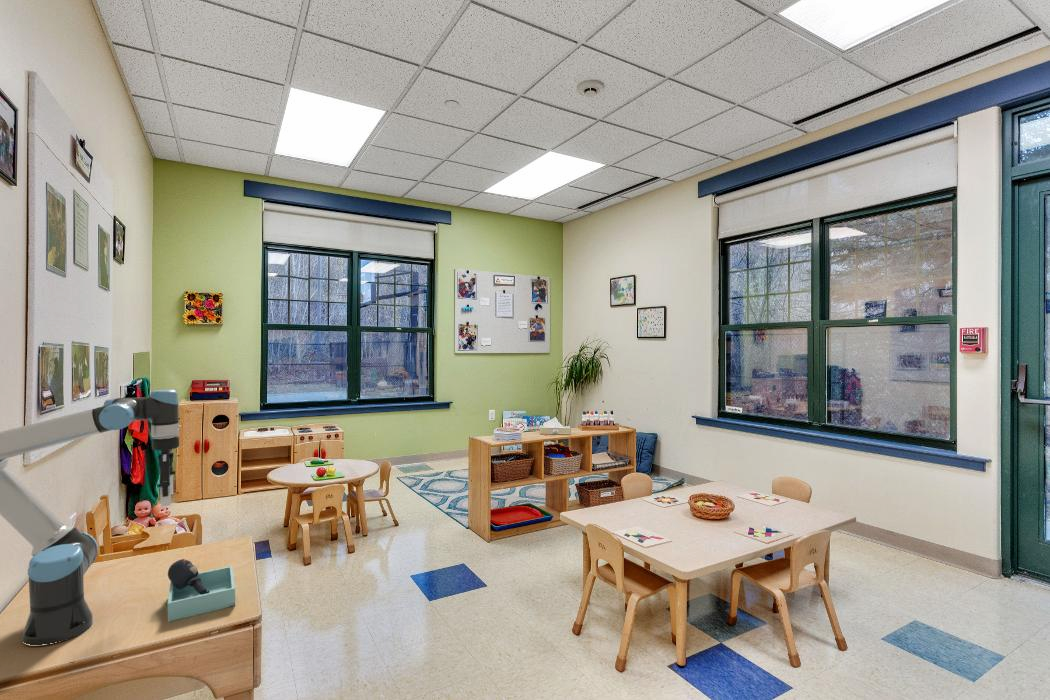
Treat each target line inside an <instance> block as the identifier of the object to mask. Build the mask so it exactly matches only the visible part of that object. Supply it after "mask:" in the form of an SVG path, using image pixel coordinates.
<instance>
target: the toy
mask: <svg viewBox="0 0 1050 700" xmlns="http://www.w3.org/2000/svg"><path fill="white" fill-rule="evenodd" d="M198 570H199V568H198V567H197V566H196V565H195V564H193V563H192V561H190V560H188V559H184V558H182V559H179V560H177V561H175V562H174V563H172V564H171V565H170V566H169V568H168V571H167V577H168V579H169V580H170V583H171V582H172V583H173V584H174V585H175V586H176V587H177V588H178V589H183V588H185V587H186V586H187V585H188V586H193V587H194V589H195V590H196V591H197V592H198V593H199V594H200V595H203V594H207V593H209V592H210V591H208V592H207V589H206V588H205V587H204V586H203V584H202V583H201V580H200V579H199V578H197V575H198V573H199V571H198Z"/></svg>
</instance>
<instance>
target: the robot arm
mask: <svg viewBox="0 0 1050 700" xmlns="http://www.w3.org/2000/svg"><path fill="white" fill-rule="evenodd" d="M178 395H179V394H178V392H177V390H175V389H156V390H152V391H150V395H149V396H147V397H146V396H145V397H117V398H116V397H115V398H110V399H106V400H105V401H104V403H103V405H102V406H98V407H95V408H91V409H87V410H84V411H79V412H74V413H71V414H67V415H66V414H65V415H63V416H59V417H54V418H51V419H47V420H43V421H42V420H41V421H39V422H35V423H31V424H26V425H23V426H19V427H15V428H14V427H13V428H11V429H7V430H2V431H0V516H2V518H3V519H5V521H6V522H7V523H8V524H10V525H11V526H12V528H14V529H15V530H16V531H17V532H18V533H19V534H20V535H21V536H22V537H23V538H24V539H25V540H26V541H27V543H28V544H30V545H31V546H32V550H31V554H30V555H31V556H32V557H31V558H30V560H29V562H28V569H27V576H28V589H29V590H28V591H29V615H28V617H27V621H26V623H25V626H24V629H23V631H22V643H23V642H24V643H26V644H30V645H42V644H50V643H55V642H59V641H62V640H65V641H67V640H66V639H68V640H70V639H73V638H75V637H76V636H77V637H78V636H79V635H80V634H83V633H84V632H85V631H87V630H88V629H90V627H91V626H92V625H93V623H94V621H93V617H94V616H93V613H92V611H91V609H90V607H89V605H88V603H87V601H86V599H85V590H84V589H85V587H84V586H85V584H84V582H85V581H84V578H85V577H84V575H85V574H86V573H87V572H88V570H89V568H90V567H91V566H92V565H93V564H94V562H95V560H96V558H97V555H98V551H99V545H98V542H97V539H96V538H94V536H93V535H91V534H89V533H87V532H81V531H80V530H78V528H77V527H76V526H75V525H66V524H64V523H63V522H62V521H61V520H60V519H59V518H58V517H57V516H56V515H55V513H53V512H52V510H50V508H48V507H47V506H46V505H45V503H43V502H42V501H41V500H40V498H39V497H38V496H37V495H36V494H35V493H33V491H31V489H30V488H29V487H28V486H27V485H26V484H25V483H24V482H23V481H22V480H21V479H20V478H19V477H18V476H17V475H16V474H15V473H14V472H13V471H12V470H11V469H10V468H9V466H8V463H9V459H10V458H13V457H17V456H20V455H24V454H28V453H31V452H36V451H38V450H42V449H46V448H49V447H50V448H51V447H54V446H57V445H61V444H65V443H69V442H73V441H76V440H80V439H83V438H88V437H90V436H95V435H98V434H101V433H102V434H103V433H106V432H110V431H119V430H122V429H124V428H127V427H129V426H130V424H132V422H138V421H151V424H150V436H151V437H152V438H151V449H152V450H153V451H161V452H160V453H159V454H158V461H159V462H158V467H159V484H157V488H159V491H160V494H159V496H160V499H159V500H160V507H161V508H163V507H169V506H172V495H174V475H176V471H175V470H174V468H173V466H174V465H173V463H174V452H173V451H172V450H174V449H177V448H179V447H180V436H179V434H180V429H181V428H182V425H181V424H180V425H179V422H180V420H179V415H180V414H179V410H180V408H179V397H178ZM72 637H73V638H72ZM69 638H70V639H69ZM62 642H63V641H62ZM59 643H60V642H59ZM55 644H56V643H55Z"/></svg>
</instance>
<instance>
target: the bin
mask: <svg viewBox="0 0 1050 700" xmlns="http://www.w3.org/2000/svg"><path fill="white" fill-rule="evenodd" d="M233 568H234V567H233V565H231V566H224V567H219V568H215V569H211V570H206V571H200V572H198V575H197V578H199V579H200V580H201V583H202V584H203V586H204V587H205V588H206V589H207V592H208V591H210V592H209V593H207V594H203V595H200V594H199V593H198V592H197V591H196V590H195V589H194V587H193V586H188V585H187V586H186V587H185V588H183V589H178V588H177V587H176V586H175V585H174V584H173V583H172V582H171V581H170V584H169V592H168V597H167V598H168V599H167V622H172V621H177V620H180V619H181V620H182V619H184V618H190V617H193V616H197V615H201V614H205V613H209V612H213V611H218V610H222V609H227V608H231V607H234V606H236V586H235V578H234V577H235V575H234V569H233Z"/></svg>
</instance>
